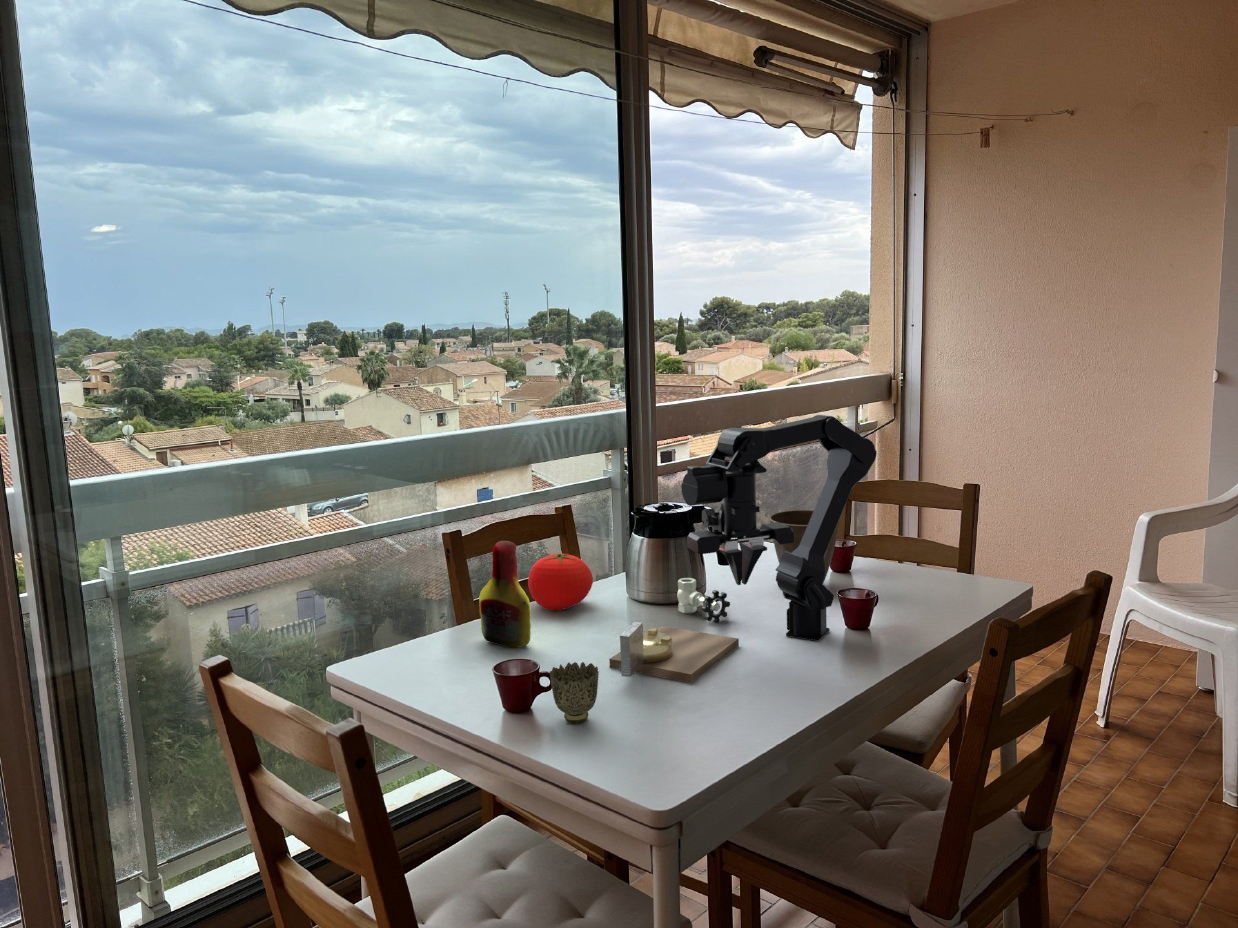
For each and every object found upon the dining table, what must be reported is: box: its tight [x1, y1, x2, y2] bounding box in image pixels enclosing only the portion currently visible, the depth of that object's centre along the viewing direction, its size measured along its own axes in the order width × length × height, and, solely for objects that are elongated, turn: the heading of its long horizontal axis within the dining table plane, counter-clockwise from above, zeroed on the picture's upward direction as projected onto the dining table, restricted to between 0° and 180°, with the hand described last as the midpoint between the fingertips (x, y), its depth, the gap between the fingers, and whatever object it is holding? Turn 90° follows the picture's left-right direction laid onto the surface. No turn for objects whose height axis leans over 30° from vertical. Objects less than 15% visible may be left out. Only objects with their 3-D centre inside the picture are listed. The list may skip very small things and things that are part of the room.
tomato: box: [527, 553, 594, 611], centre depth 193 cm, size 13×14×12 cm
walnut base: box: [608, 625, 740, 684], centre depth 162 cm, size 16×19×2 cm
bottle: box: [478, 540, 532, 649], centre depth 171 cm, size 12×6×20 cm, turn 48°
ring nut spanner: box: [619, 621, 673, 678], centre depth 156 cm, size 16×9×7 cm, turn 160°
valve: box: [676, 577, 731, 624], centre depth 184 cm, size 7×7×12 cm
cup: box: [549, 661, 600, 725], centre depth 137 cm, size 8×7×8 cm
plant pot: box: [769, 509, 840, 584], centre depth 199 cm, size 15×15×16 cm
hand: (741, 584), depth 163 cm, fingers closed
